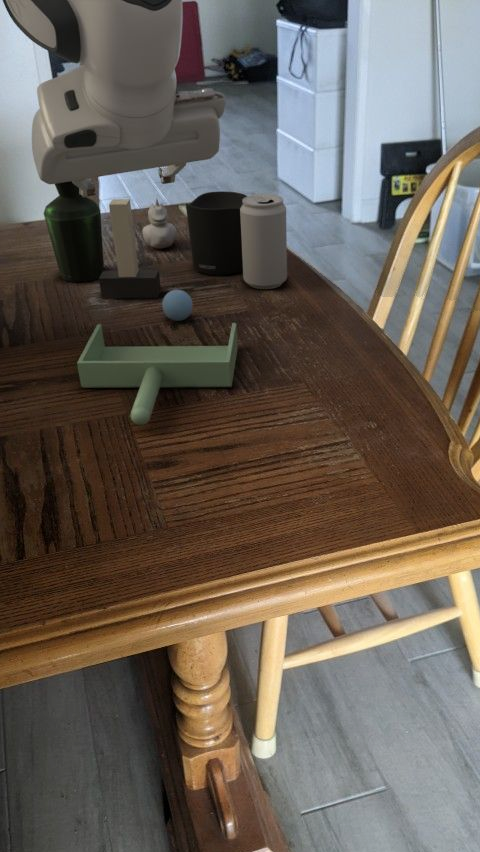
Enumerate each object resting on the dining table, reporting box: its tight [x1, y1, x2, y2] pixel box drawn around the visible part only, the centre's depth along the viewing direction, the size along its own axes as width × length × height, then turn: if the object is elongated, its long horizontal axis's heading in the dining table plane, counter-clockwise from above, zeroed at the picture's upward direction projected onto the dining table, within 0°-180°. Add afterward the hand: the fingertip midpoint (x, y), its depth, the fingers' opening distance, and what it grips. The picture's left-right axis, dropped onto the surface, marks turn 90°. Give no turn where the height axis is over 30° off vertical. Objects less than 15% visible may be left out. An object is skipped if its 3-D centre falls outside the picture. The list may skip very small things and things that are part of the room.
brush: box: [98, 198, 162, 300], centre depth 108 cm, size 8×3×13 cm, turn 88°
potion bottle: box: [43, 181, 105, 283], centre depth 113 cm, size 8×8×18 cm
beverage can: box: [240, 193, 288, 290], centre depth 111 cm, size 6×6×12 cm
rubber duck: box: [141, 198, 177, 250], centre depth 127 cm, size 5×7×8 cm
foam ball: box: [161, 289, 194, 322], centre depth 103 cm, size 4×4×4 cm
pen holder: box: [185, 190, 248, 277], centre depth 117 cm, size 9×9×10 cm
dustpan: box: [76, 322, 239, 426], centre depth 87 cm, size 20×17×3 cm
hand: (127, 184), depth 91 cm, fingers open, 8 cm apart
